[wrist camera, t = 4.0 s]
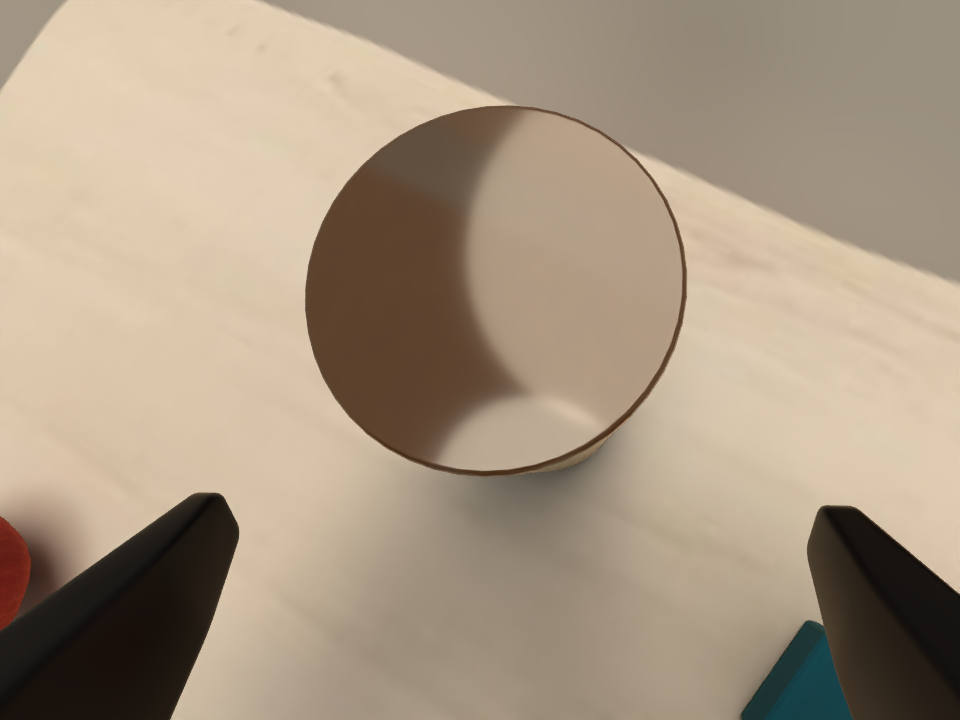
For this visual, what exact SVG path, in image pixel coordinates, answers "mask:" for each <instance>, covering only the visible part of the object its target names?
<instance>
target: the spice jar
mask: <svg viewBox="0 0 960 720" xmlns="http://www.w3.org/2000/svg"><path fill="white" fill-rule="evenodd" d="M686 299H687V267H686V260H685V252H684V246H683V242H682V239H681V235H680V231H679V228H678V224H677V222H676V219H675V217H674V215H673V212H672V210H671V208H670V206H669V203H668V201H667V199H666V198H665V196H664V195H663V193H662V191H661V190H660V188H659V187H658V185H657V183H656V182H655V180H654V179H653V178H652V176H651V175H650V174H649V173H648V172H647V171H646V169H645V168H644V167H643V166H642V165H641V163H640V162H639V161H638V160H637V159H636V158H635V157H634V156H633V155H631V154H630V153H629V152H628V151H627V150H626V149H625V148H624V147H623V146H621V145H620V144H619V143H618V142H616V141H615V140H613V139H612V138H610V137H609V136H607V135H605V134H604V133H603V132H601V131H600V130H598V129H596V128H594V127H592V126H590V125H588V124H586V123H584V122H582V121H579V120H577V119H574V118H571V117H569V116H566V115H562V114H560V113H557V112H552V111H548V110H543V109H538V108H533V107H522V106H486V107H479V108H473V109H466V110H462V111H458V112H454V113H451V114H447V115H443V116H440V117H438V118H435V119H433V120H430V121H428V122H425V123H423V124H420V125H418V126H417V127H415V128H413V129H411V130H409V131H407V132H406V133H404V134H402V135H400V136H398V137H397V138H395V139H394V140H393V141H391V142H390V143H388V144H387V145H386V146H384V147H383V148H381V149H380V150H379V151H378V152H376V153H375V154H374V155H373V156H372V157H371V158H370V159H369V160H367V161H366V162H365V163H364V164H363V165H362V166H361V167H360V168H359V169H358V170H357V172H356V173H355V174H354V175H353V176H352V177H351V178H350V179H349V181H348V182H347V183H346V184H345V186H344V187H343V189H342V190H341V191H340V193H339V194H338V196H337V197H336V199H335V200H334V201H333V203H332V205H331V207H330V209H329V211H328V213H327V214H326V216H325V218H324V220H323V222H322V224H321V227H320V229H319V232H318V235H317V237H316V240H315V242H314V246H313V250H312V253H311V257H310V261H309V265H308V272H307V280H306V289H305V311H306V319H307V327H308V334H309V338H310V342H311V346H312V350H313V354H314V357H315V360H316V362H317V364H318V367H319V369H320V372H321V374H322V377H323V379H324V381H325V382H326V384H327V386H328V387H329V389H330V391H331V393H332V394H333V396H334V398H335V399H336V401H337V402H338V403H339V404H340V406H341V407H342V408H343V410H344V411H345V412H346V413H347V415H348V416H349V417H350V418H351V419H352V420H353V421H354V422H355V423H356V424H357V425H358V426H359V427H360V428H361V429H362V430H363V431H364V432H365V433H366V434H367V435H369V436H370V437H372V438H373V439H374V440H376V441H377V442H378V443H380V444H381V445H382V446H384V447H385V448H387V449H388V450H390V451H392V452H394V453H396V454H398V455H400V456H401V457H403V458H405V459H407V460H409V461H412V462H414V463H417V464H420V465H422V466H425V467H428V468H431V469H434V470H438V471H443V472H447V473H452V474H456V475H466V476H479V477H492V476H510V475H522V474H527V473H532V472H550V471H557V470H562V469H565V468H568V467H571V466H574V465H576V464H578V463H580V462H582V461H583V460H585V459H586V458H588V457H589V456H591V455H592V454H593V453H594V452H595V451H597V450H598V449H599V448H600V447H601V445H602V444H603V443H604V442H605V441H606V440H607V438H608V437H610V436H611V435H612V434H613V433H614V432H615V431H616V430H617V429H619V428H620V427H621V426H622V425H623V424H624V423H625V422H626V421H627V420H628V419H629V418H630V417H631V416H632V415H633V413H634V412H635V411H636V410H637V409H638V408H639V406H640V405H641V404H642V403H643V402H644V401H645V399H646V398H647V397H648V396H649V395H650V393H651V392H652V390H653V388H654V387H655V385H656V384H657V382H658V381H659V379H660V378H661V376H662V375H663V373H664V371H665V369H666V367H667V365H668V362H669V360H670V358H671V356H672V354H673V352H674V349H675V347H676V343H677V340H678V337H679V334H680V330H681V327H682V324H683V318H684V312H685V305H686Z"/></svg>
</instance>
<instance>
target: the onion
mask: <svg viewBox="0 0 960 720" xmlns="http://www.w3.org/2000/svg"><path fill="white" fill-rule="evenodd" d="M30 570H31V558H30V555H29V551H28V548H27V544H26V543H25V541H24V540H23V538H22V537H21V535H20V534H19V533H18V532H17V531H16V530H15V529H14V528H13V527H12V526H11V525H10V524H9V523H8V522H7V521H6V520H5V519H4V518H2V517H0V631H1V630H2V629H4V628H5V627H6V626H8V625H9V624H10V623H11V622H12V620H13V619H14V617H15V616H16V615H17V613H18V611H19V608H20V605H21V602H22V600H23V597H24V594H25V591H26V589H27V586H28V583H29V581H30Z"/></svg>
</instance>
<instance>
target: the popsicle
mask: <svg viewBox="0 0 960 720" xmlns="http://www.w3.org/2000/svg"><path fill="white" fill-rule="evenodd" d="M742 719H743V720H853V719H852V716H851V713H850V710H849V708H848V705H847V702H846V700H845V697H844V694H843V691H842V688H841V686H840V683H839V680H838V677H837V674H836V671H835V667H834V663H833V660H832V656H831V652H830V648H829V644H828V640H827V636H826V632H825V628H824V626H822V625H821V624H819V623H817V622H814V621H806V623H805V624H804V625H803V627H802V628H801V630H800V631H799V633H798V634H797V635H796V637H795V638H794V640H793V641H792V643H791V644H790V646H789V647H788V648H787V650H786V651H785V653H784V654H783V656H782V657H781V658H780V660H779V661H778V663H777V664H776V666H775V667H774V668H773V670H772V671H771V673H770V674H769V676H768V677H767V679H766V680H765V681H764V683H763V684H762V686H761V687H760V689H759V690H758V691H757V693H756V694H755V696H754V697H753V699H752V700H751V701H750V703H749V704H748V706H747V707H746V709H745V710H744V712H743V713H742Z"/></svg>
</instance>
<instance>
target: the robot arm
mask: <svg viewBox="0 0 960 720" xmlns="http://www.w3.org/2000/svg"><path fill="white" fill-rule="evenodd" d="M238 539H239V527H238V524H237V522H236V520H235V518H234V516H233V514H232V512H231V510H230V508H229V506H228V504H227V502H226V500H225V498H224V497H223V496H222V495H221V494H219V493H195V494H193V495H191V496H189V497H188V498H187V499H185V500H184V501H182V502H181V503H179V504H178V505H177V506H175V507H174V508H172V509H171V510H170V511H168V512H167V513H165V514H164V515H163V516H161V517H160V518H158V519H157V520H156V521H154V522H153V523H151V524H150V525H149V526H147V527H146V528H144V529H143V530H141V531H140V532H139V533H137V534H136V535H134V536H133V537H132V538H130V539H129V540H127V541H126V542H125V543H123V544H122V545H120V546H119V547H118V548H116V549H115V550H113V551H112V552H111V553H109V554H108V555H106V556H105V557H104V558H102V559H101V560H99V561H98V562H96V563H95V564H94V565H92V566H91V567H89V568H88V569H87V570H85V571H84V572H82V573H81V574H80V575H78V576H77V577H75V578H74V579H73V580H71V581H70V582H68V583H67V584H66V585H64V586H63V587H61V588H60V589H58V590H57V591H56V592H54V593H53V594H51V595H50V596H49V597H47V598H46V599H44V600H43V601H42V602H40V603H39V604H37V605H36V606H35V607H33V608H32V609H30V610H29V611H27V612H26V613H25V614H23V615H22V616H20V617H19V618H18V619H16V620H15V621H13V622H12V623H11V624H9V625H8V626H6V627H5V628H4V629H2V630H1V631H0V720H170V719H171V717H172V714H173V712H174V710H175V707H176V705H177V703H178V700H179V698H180V696H181V694H182V691H183V689H184V687H185V684H186V682H187V680H188V678H189V675H190V673H191V671H192V668H193V666H194V664H195V661H196V659H197V657H198V655H199V652H200V650H201V648H202V645H203V643H204V641H205V638H206V636H207V633H208V631H209V628H210V625H211V622H212V620H213V617H214V614H215V611H216V608H217V605H218V602H219V599H220V596H221V592H222V589H223V586H224V583H225V580H226V577H227V574H228V571H229V568H230V565H231V562H232V559H233V556H234V552H235V549H236V546H237V543H238ZM807 556H808V562H809V566H810V570H811V574H812V579H813V583H814V587H815V591H816V595H817V599H818V603H819V607H820V611H821V615H822V619H823V624H824V628H825V632H826V636H827V640H828V644H829V648H830V652H831V656H832V660H833V663H834V667H835V671H836V674H837V677H838V680H839V683H840V686H841V688H842V691H843V694H844V697H845V700H846V702H847V705H848V708H849V710H850V713H851V716H852V719H853V720H960V594H959V593H958V592H956V591H955V590H954V589H953V588H952V587H950V586H949V585H948V584H947V583H946V582H944V581H943V580H942V579H941V578H940V577H939V576H937V575H936V574H935V573H934V572H933V571H931V570H930V569H929V568H928V567H927V566H925V565H924V564H923V563H922V562H921V561H920V560H918V559H917V558H916V557H915V556H914V555H912V554H911V553H910V552H909V551H908V550H906V549H905V548H904V547H903V546H902V545H901V544H899V543H898V542H897V541H896V540H895V539H893V538H892V537H891V536H890V535H889V534H887V533H886V532H885V531H884V530H883V529H882V528H880V527H879V526H878V525H877V524H876V523H874V522H873V521H872V520H871V519H870V518H868V517H867V516H866V515H865V514H864V513H863V512H861V511H860V510H859V509H857V508H855V507H852V506H834V505H825V506H822V507H821V508H820V509H819V510H818V512H817V515H816V518H815V521H814V524H813V528H812V531H811V534H810V537H809V540H808V545H807Z"/></svg>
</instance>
